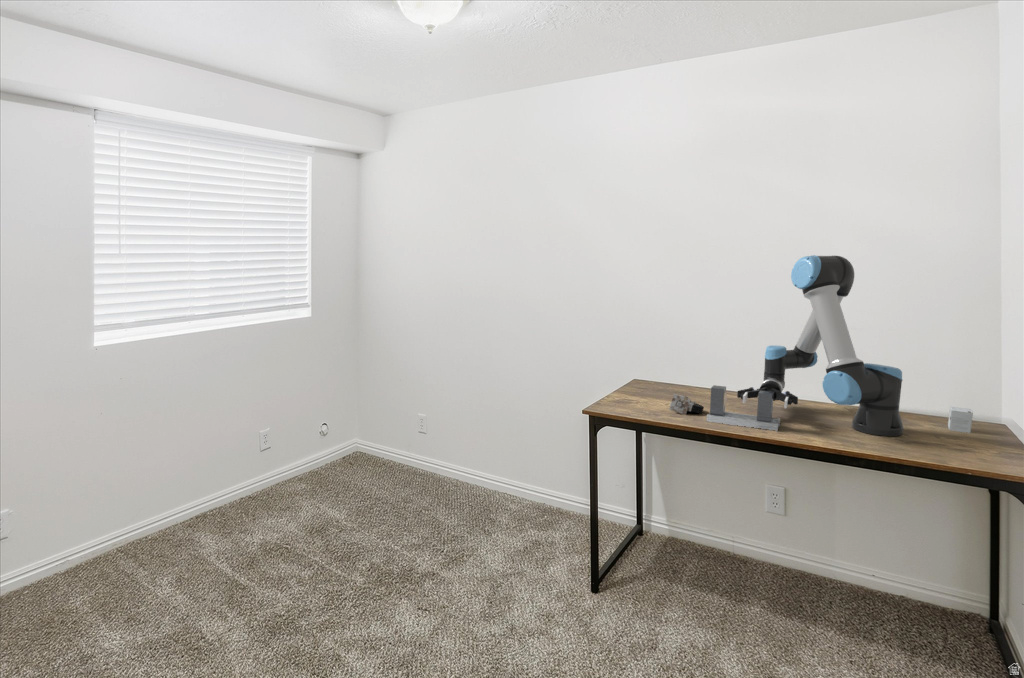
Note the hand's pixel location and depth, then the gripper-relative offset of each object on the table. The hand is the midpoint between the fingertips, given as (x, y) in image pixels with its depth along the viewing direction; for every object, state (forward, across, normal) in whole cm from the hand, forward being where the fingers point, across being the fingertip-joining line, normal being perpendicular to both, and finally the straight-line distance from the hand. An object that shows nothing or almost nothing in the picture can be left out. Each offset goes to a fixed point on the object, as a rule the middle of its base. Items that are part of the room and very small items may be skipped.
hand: (764, 402), depth 201 cm
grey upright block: (-2, 0, -8) cm, 8 cm away
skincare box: (-32, -60, -10) cm, 69 cm away
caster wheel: (-9, +28, -10) cm, 31 cm away
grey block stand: (-3, +7, -10) cm, 12 cm away
